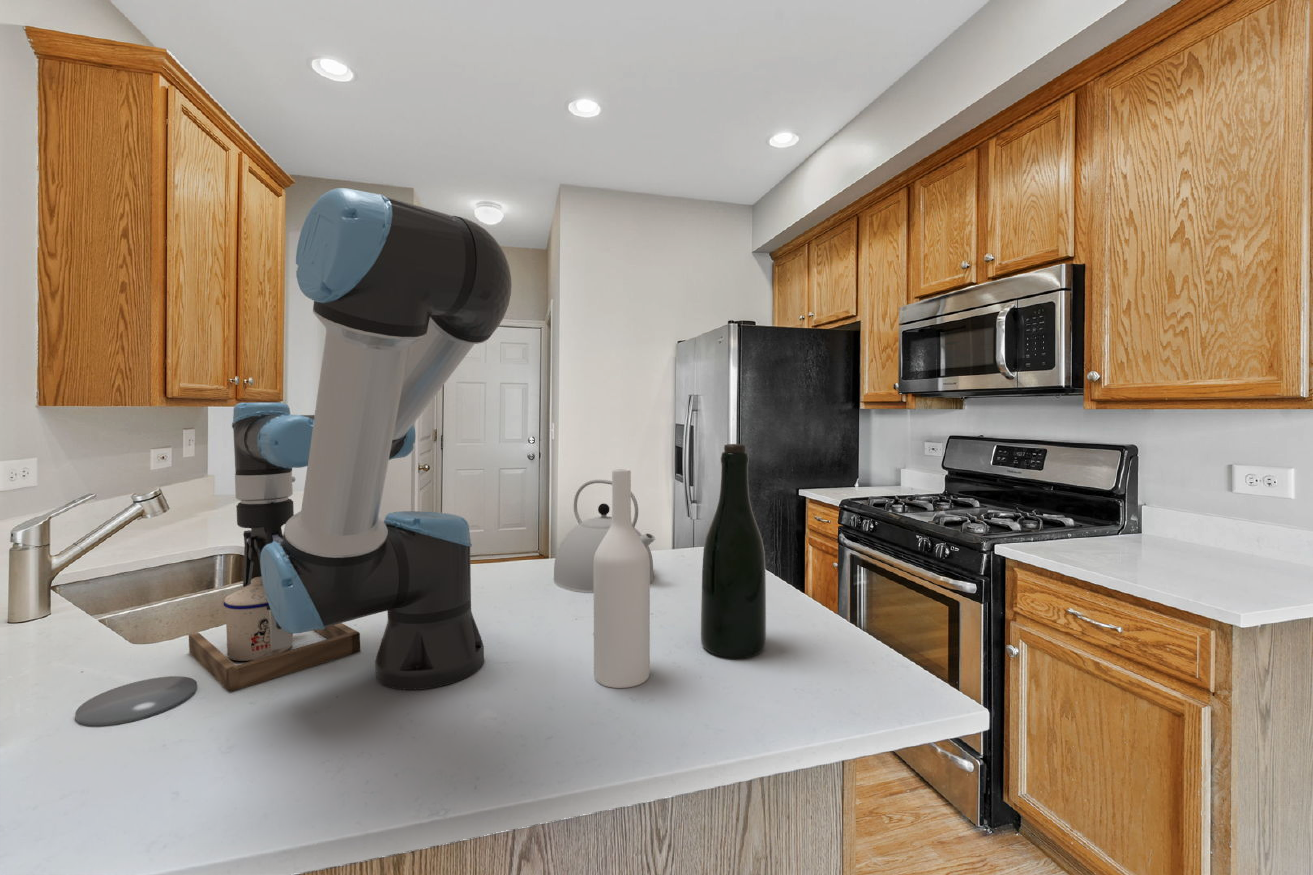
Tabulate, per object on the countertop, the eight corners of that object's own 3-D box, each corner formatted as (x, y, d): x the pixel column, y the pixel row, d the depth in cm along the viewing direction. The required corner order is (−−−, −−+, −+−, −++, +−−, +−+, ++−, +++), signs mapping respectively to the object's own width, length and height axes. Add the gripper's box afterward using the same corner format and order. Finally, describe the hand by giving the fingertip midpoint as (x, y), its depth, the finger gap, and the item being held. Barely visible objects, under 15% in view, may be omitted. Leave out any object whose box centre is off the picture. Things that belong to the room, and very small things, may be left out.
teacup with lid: (255, 666, 87) (252, 589, 87) (211, 658, 90) (207, 583, 90) (323, 636, 99) (320, 567, 98) (282, 629, 102) (279, 563, 101)
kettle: (680, 575, 136) (681, 478, 135) (624, 603, 117) (624, 490, 116) (595, 560, 149) (595, 472, 148) (532, 582, 130) (531, 481, 129)
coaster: (208, 698, 78) (208, 694, 78) (83, 737, 69) (83, 732, 69) (184, 672, 86) (184, 668, 86) (69, 704, 77) (68, 700, 77)
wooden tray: (360, 651, 93) (359, 632, 93) (229, 692, 80) (228, 670, 80) (309, 621, 106) (308, 605, 106) (189, 652, 93) (188, 634, 92)
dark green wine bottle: (687, 646, 95) (688, 443, 94) (727, 629, 103) (728, 441, 101) (739, 666, 88) (741, 447, 86) (778, 646, 95) (781, 444, 94)
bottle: (638, 659, 90) (638, 465, 89) (657, 682, 83) (658, 471, 81) (587, 668, 87) (586, 467, 86) (602, 692, 80) (601, 473, 78)
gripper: (318, 503, 89) (323, 649, 90) (268, 491, 103) (273, 618, 104) (261, 510, 83) (267, 666, 84) (216, 496, 97) (221, 630, 98)
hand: (270, 639), depth 94 cm, fingers closed on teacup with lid, 9 cm apart
